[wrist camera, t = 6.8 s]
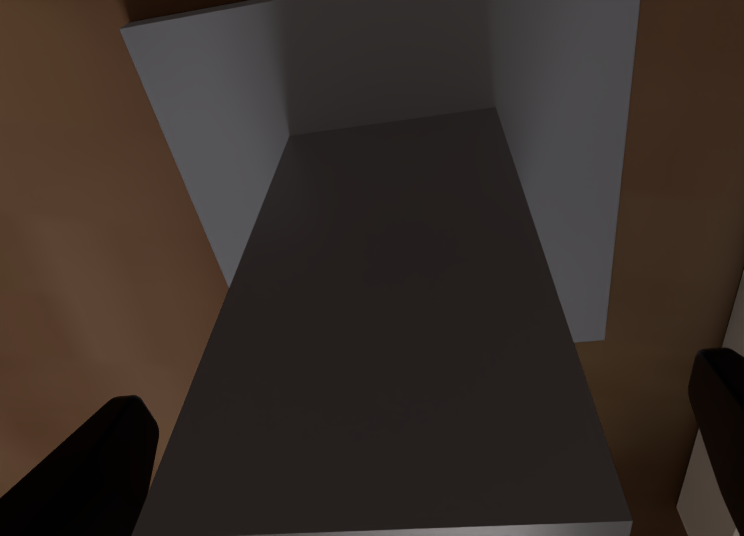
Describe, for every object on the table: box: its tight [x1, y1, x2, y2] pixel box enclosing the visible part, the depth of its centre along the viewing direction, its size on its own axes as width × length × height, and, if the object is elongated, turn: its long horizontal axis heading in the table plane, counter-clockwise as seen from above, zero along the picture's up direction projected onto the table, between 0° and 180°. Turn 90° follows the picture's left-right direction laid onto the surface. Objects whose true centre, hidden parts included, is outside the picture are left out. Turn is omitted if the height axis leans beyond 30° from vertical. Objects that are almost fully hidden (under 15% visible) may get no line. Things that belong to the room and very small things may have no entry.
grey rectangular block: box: [132, 107, 633, 536], centre depth 10 cm, size 4×4×9 cm
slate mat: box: [119, 0, 640, 343], centre depth 14 cm, size 10×10×1 cm
